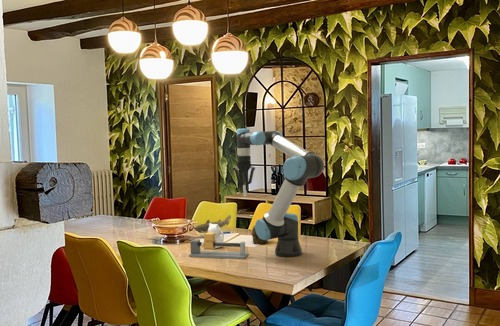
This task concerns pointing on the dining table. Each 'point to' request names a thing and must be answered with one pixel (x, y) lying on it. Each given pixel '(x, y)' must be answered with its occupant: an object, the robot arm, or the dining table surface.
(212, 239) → the sleeve
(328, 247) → the dining table surface
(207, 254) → the slider rail
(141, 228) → the dining table surface
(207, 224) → the wood carving
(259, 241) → the carved stone head
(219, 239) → the cat figurine
